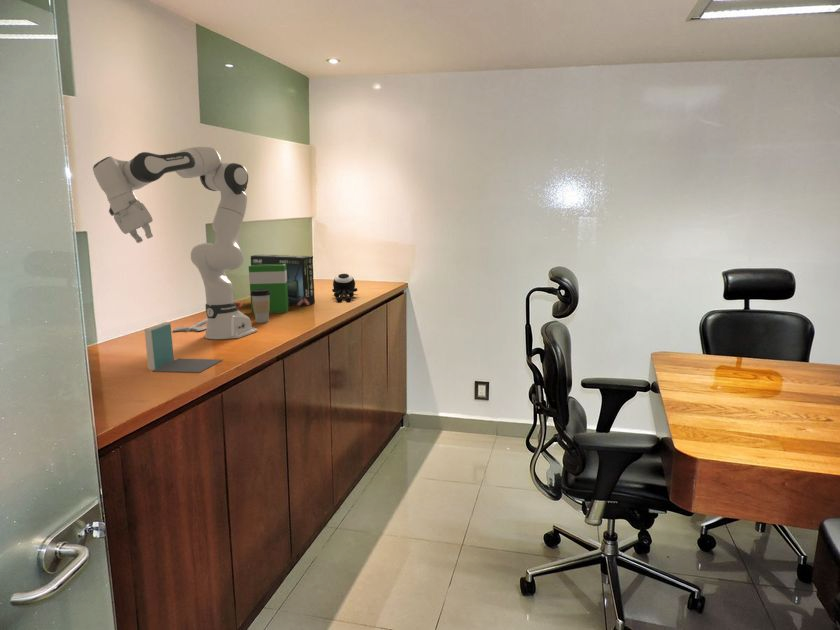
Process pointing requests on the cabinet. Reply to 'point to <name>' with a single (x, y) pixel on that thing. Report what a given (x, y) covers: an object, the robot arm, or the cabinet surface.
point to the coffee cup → (261, 304)
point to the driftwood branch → (193, 327)
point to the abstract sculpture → (344, 287)
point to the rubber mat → (188, 365)
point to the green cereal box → (271, 284)
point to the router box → (293, 276)
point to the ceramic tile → (159, 345)
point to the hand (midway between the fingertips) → (145, 240)
